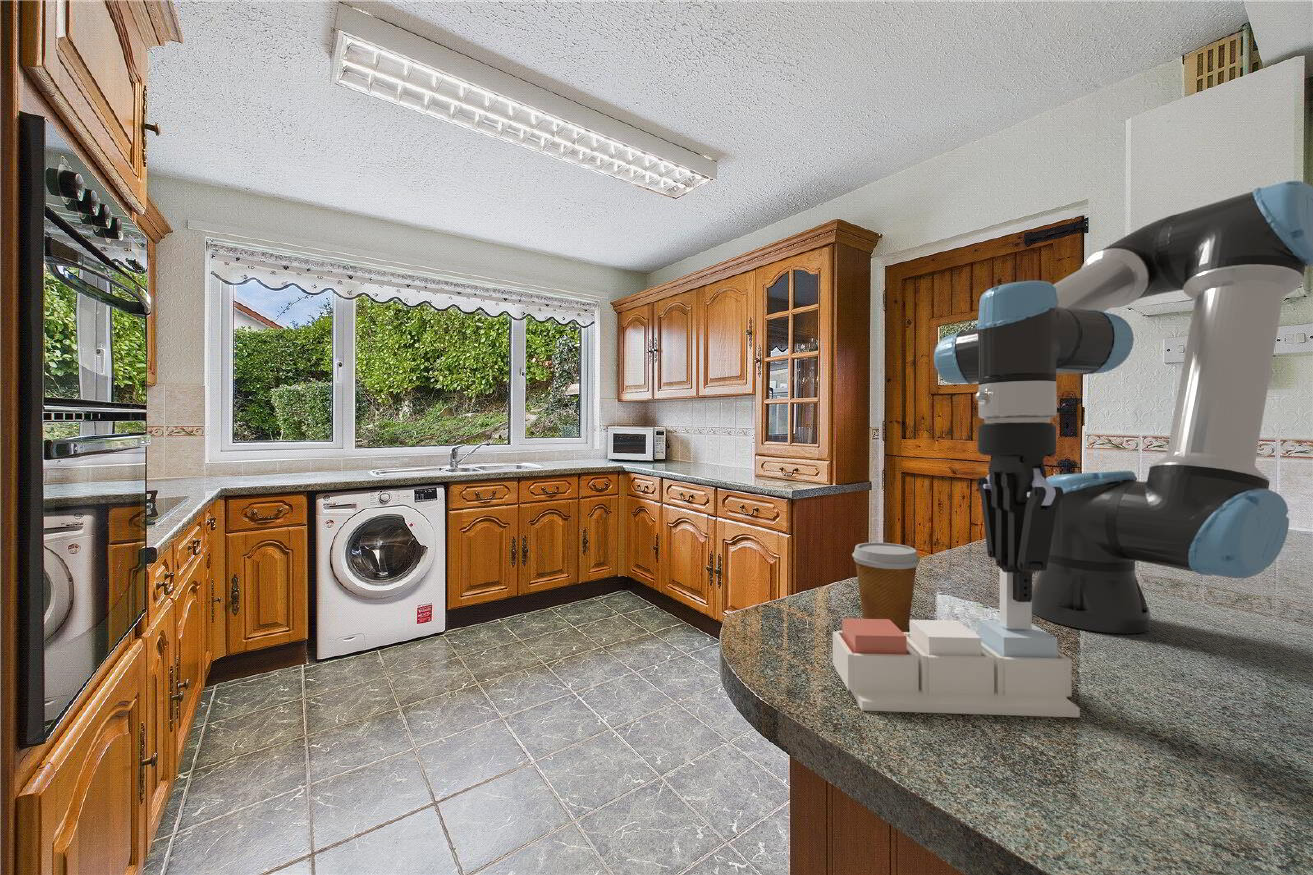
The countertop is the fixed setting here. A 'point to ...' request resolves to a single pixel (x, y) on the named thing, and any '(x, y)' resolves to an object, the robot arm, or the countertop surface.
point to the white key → (944, 638)
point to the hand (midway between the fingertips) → (1015, 626)
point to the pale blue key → (1017, 640)
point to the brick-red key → (873, 636)
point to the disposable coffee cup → (886, 581)
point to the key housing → (956, 682)
